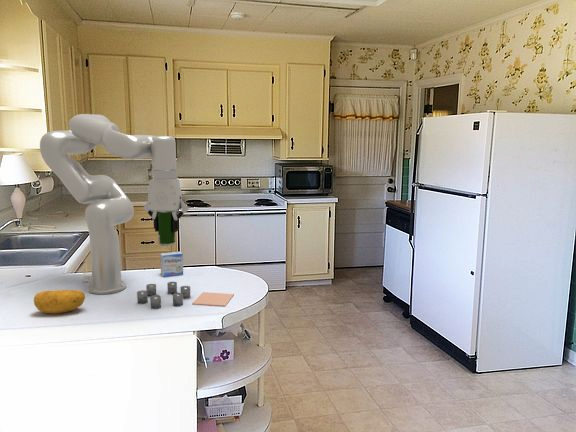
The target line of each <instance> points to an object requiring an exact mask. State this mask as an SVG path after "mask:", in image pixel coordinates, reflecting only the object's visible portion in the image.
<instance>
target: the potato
mask: <svg viewBox="0 0 576 432" xmlns="http://www.w3.org/2000/svg"><path fill="white" fill-rule="evenodd" d="M85 300H86V295H85V292H84V291H82V290H78V289H70V290H69V289H56V290H43V291H39V292H38V293H36V294H35V295H34V297H33V303H34V306H35V307H36V309H37V311H40V312H42V313H45V314H50V315H51V314H52V315H53V314H62V313H67V312H72V311H74V310H77V309H78V308H79V307H81V306H82V305H83V303H84V302H85Z"/></svg>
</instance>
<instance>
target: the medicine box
mask: <svg viewBox="0 0 576 432" xmlns="http://www.w3.org/2000/svg"><path fill="white" fill-rule="evenodd" d="M159 257H160V258H159V259H160V260H159V261H160V262H159V263H160V275H161V276H162V277H163V278H169V277H176V276H183V275H184V255H183V252H181V251H172V252H170V251H169V252H162V253H159Z"/></svg>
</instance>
